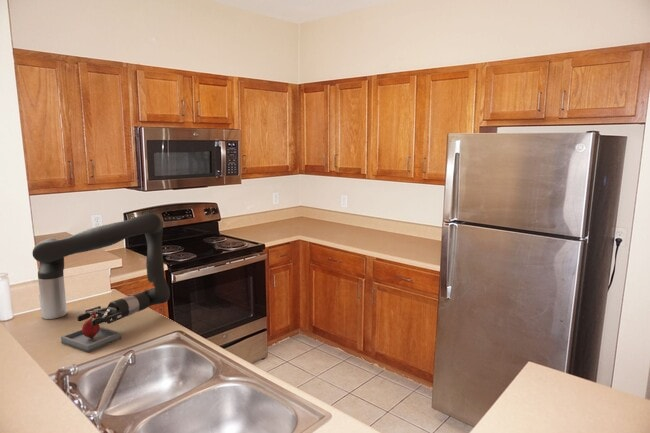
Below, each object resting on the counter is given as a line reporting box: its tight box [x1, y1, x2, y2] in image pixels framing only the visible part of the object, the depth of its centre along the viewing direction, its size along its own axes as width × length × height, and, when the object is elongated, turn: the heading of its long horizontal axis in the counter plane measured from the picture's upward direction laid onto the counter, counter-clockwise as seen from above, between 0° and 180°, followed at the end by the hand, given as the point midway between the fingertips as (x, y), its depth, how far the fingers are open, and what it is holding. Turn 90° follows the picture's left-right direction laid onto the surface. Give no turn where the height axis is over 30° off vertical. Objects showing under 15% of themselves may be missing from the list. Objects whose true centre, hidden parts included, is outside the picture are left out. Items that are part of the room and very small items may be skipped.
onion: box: [81, 317, 101, 338], centre depth 162 cm, size 6×6×8 cm
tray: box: [60, 326, 122, 354], centre depth 162 cm, size 16×13×2 cm
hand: (84, 321), depth 160 cm, fingers open, 8 cm apart
